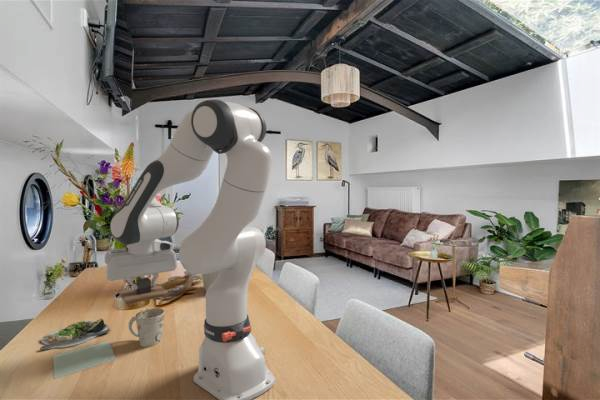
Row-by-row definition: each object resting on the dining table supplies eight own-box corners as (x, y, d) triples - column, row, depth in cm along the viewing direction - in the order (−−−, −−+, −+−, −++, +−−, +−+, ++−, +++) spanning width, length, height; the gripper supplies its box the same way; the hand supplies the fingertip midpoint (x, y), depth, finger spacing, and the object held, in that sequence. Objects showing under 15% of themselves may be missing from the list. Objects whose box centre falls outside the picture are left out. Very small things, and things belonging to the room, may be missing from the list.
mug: (153, 351, 94) (152, 319, 93) (118, 347, 96) (117, 316, 96) (170, 338, 102) (169, 309, 102) (137, 335, 104) (136, 306, 104)
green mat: (116, 361, 89) (116, 359, 89) (54, 380, 80) (54, 378, 80) (108, 342, 99) (108, 340, 99) (53, 358, 91) (53, 356, 91)
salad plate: (55, 360, 90) (55, 345, 90) (23, 347, 97) (22, 333, 97) (118, 332, 108) (118, 319, 107) (86, 323, 115) (86, 311, 115)
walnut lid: (168, 295, 98) (168, 280, 98) (126, 304, 90) (126, 288, 90) (158, 286, 107) (157, 272, 107) (118, 293, 99) (118, 279, 99)
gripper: (106, 252, 89) (107, 299, 89) (178, 243, 102) (178, 284, 102) (102, 248, 94) (104, 293, 94) (172, 241, 107) (172, 280, 107)
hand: (143, 288), depth 98 cm, fingers closed on walnut lid, 3 cm apart
